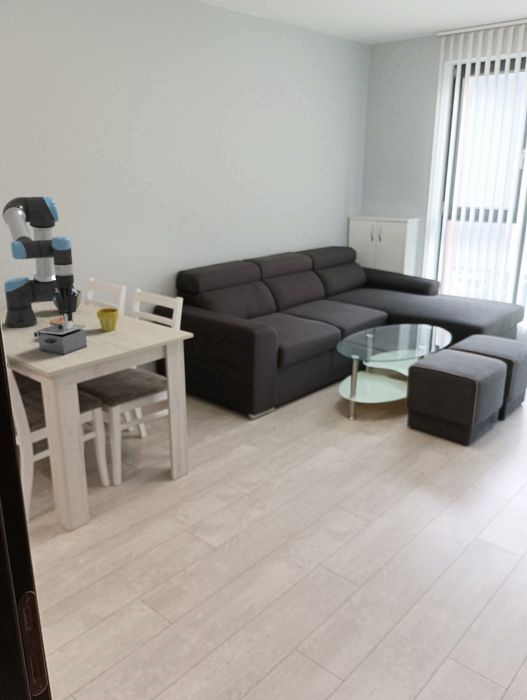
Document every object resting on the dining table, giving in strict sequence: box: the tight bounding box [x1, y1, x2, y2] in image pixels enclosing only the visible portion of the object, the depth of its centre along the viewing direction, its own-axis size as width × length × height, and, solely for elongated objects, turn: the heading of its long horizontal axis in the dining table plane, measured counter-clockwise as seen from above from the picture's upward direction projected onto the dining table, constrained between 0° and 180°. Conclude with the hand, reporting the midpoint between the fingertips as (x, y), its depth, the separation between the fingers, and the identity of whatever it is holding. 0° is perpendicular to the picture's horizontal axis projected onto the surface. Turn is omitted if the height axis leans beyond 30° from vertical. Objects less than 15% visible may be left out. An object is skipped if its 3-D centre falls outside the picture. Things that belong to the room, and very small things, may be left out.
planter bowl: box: [52, 289, 83, 314], centre depth 321 cm, size 16×16×11 cm
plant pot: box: [96, 307, 120, 332], centre depth 286 cm, size 10×10×10 cm
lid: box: [36, 323, 86, 334], centre depth 253 cm, size 15×14×3 cm
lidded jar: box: [49, 316, 74, 327], centre depth 274 cm, size 11×11×9 cm
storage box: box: [33, 328, 88, 356], centre depth 255 cm, size 15×17×8 cm
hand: (68, 327), depth 251 cm, fingers closed
